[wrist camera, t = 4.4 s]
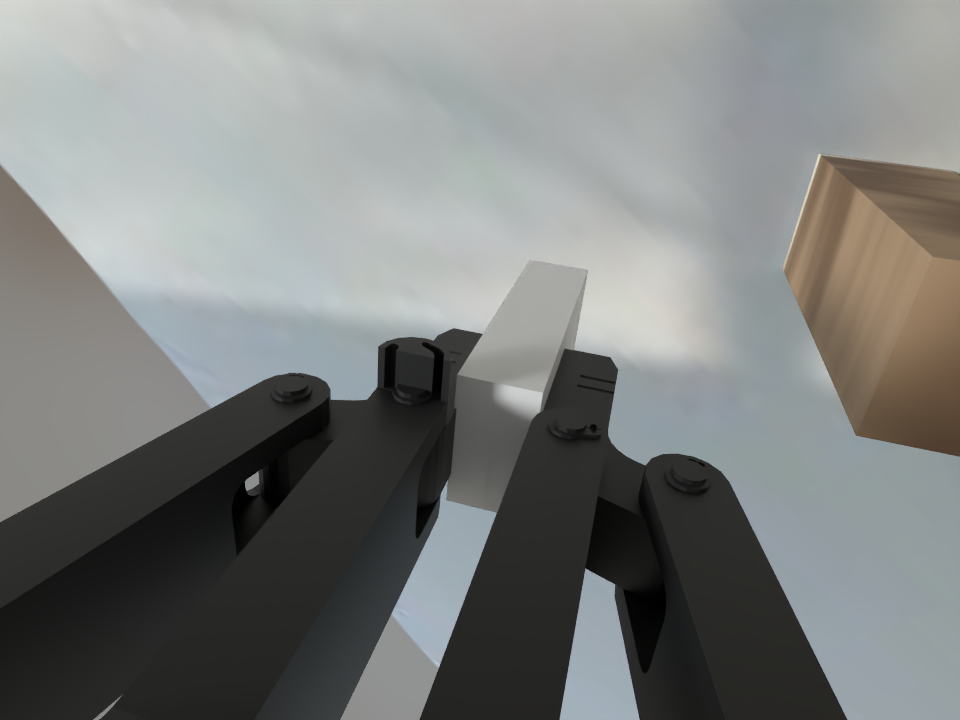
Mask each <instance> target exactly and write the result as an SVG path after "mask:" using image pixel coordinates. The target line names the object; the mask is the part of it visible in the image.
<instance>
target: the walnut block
mask: <svg viewBox="0 0 960 720" xmlns="http://www.w3.org/2000/svg"><path fill="white" fill-rule="evenodd" d="M783 270H784V273H785V275H786V277H787V280H788V282H789V284H790V286H791V289H792V291H793V293H794V296H795V298H796V300H797V302H798V305H799V307H800V309H801V311H802V314H803V316H804V318H805V321H806V323H807V325H808V327H809V330H810V332H811V334H812V336H813V339H814V341H815V343H816V346H817V348H818V350H819V352H820V355H821V357H822V359H823V361H824V364H825V366H826V368H827V371H828V373H829V375H830V377H831V380H832V382H833V384H834V387H835V389H836V391H837V393H838V396H839V398H840V400H841V402H842V405H843V407H844V409H845V412H846V414H847V416H848V418H849V421H850V423H851V425H852V427H853V430H854V432H855V434H856V436H861V437H866V438H871V439H876V440H881V441H885V442H890V443H895V444H900V445H905V446H910V447H915V448H920V449H925V450H930V451H935V452H940V453H945V454H950V455H955V456H960V175H958V174H956V173H955V172H953V171H948V170H941V169H933V168H925V167H918V166H910V165H903V164H895V163H887V162H880V161H872V160H864V159H857V158H849V157H842V156H834V155H826V154H819V155H818V158H817V162H816V165H815V168H814V171H813V174H812V177H811V180H810V183H809V187H808V190H807V193H806V196H805V199H804V202H803V205H802V208H801V212H800V215H799V218H798V221H797V224H796V227H795V230H794V233H793V236H792V240H791V243H790V246H789V249H788V252H787V255H786V258H785V261H784V265H783Z"/></svg>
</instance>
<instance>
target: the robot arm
mask: <svg viewBox="0 0 960 720" xmlns="http://www.w3.org/2000/svg"><path fill="white" fill-rule="evenodd" d="M587 272H588V270H585V269H579V268H573V267H567V266H562V265H556V264H550V263H544V262H539V261H533V260H530V261H529V262H528V264H527V265H526V267H525V268H524V270H523V272H522V273H521V275H520V276H519V278H518V280H517V281H516V283H515V284H514V286H513V287H512V289H511V291H510V292H509V294H508V295H507V297H506V298H505V300H504V302H503V303H502V305H501V306H500V308H499V309H498V311H497V313H496V314H495V316H494V317H493V319H492V321H491V322H490V324H489V325H488V327H487V328H486V330H485V332H484V333H483V334H480V333H475V332H470V331H465V330H459V329H454V328H453V329H451V330H449V331H447V332H445V333H442V334H440V335H438V336H437V337H436V338H435V340H434V341H432V340H429V339H425V338H415V337H407V338H397V339H393V340H390V341H386V342H385V343H383V344H382V345H380V346H379V347H378V387H377V388H376V390H375V391H374V392H373V393H372V395H371V396H370V397H369V398H368V399H367V400H356V401H351V400H331V398H330V388H329V386H328V384H327V383H326V382H325V381H323V380H321V379H320V378H318V377H315V376H311V375H307V374H302V373H298V374H296V373H288V374H284V375H277V376H274V377H271V378H269V379H266V380H263V381H262V382H260V383H258V384H256V385H254V386H252V387H250V388H249V389H247V390H245V391H243V392H241V393H239V394H237V395H236V396H234V397H232V398H230V399H228V400H226V401H224V402H223V403H221V404H219V405H217V406H215V407H213V408H211V409H210V410H208V411H206V412H204V413H202V414H200V415H199V416H197V417H195V418H193V419H191V420H189V421H188V422H186V423H184V424H182V425H180V426H179V427H176V428H174V429H173V430H171V431H169V432H167V433H165V434H163V435H161V436H160V437H158V438H156V439H154V440H152V441H151V442H148V443H147V444H145V445H143V446H141V447H139V448H137V449H135V450H134V451H132V452H130V453H128V454H126V455H125V456H123V457H121V458H119V459H117V460H115V461H113V462H111V463H110V464H108V465H106V466H104V467H102V468H100V469H98V470H97V471H95V472H93V473H91V474H89V475H87V476H85V477H83V478H82V479H80V480H78V481H76V482H74V483H72V484H70V485H69V486H67V487H65V488H63V489H61V490H59V491H57V492H56V493H54V494H52V495H50V496H48V497H47V498H45V499H43V500H41V501H39V502H37V503H35V504H33V505H32V506H30V507H28V508H26V509H24V510H22V511H21V512H19V513H17V514H15V515H13V516H11V517H9V518H7V519H6V520H4V521H2V522H0V720H93V719H94V718H96V717H97V716H98V715H99V714H100V713H101V712H103V711H104V710H105V709H106V708H107V707H108V706H109V705H111V704H112V703H113V702H114V701H115V700H117V699H118V698H119V697H120V696H121V695H122V694H123V695H122V697H120V699H119V700H118V701H117V702H116V704H115V705H114V706H113V707H112V708H111V709H110V710H109V711H108V712H107V713H106V714H105V715H104V716H103V717H102V718H101V719H99V720H340V719H341V717H342V715H343V713H344V711H345V708H346V706H347V704H348V702H349V700H350V698H351V696H352V693H353V692H354V690H355V688H356V686H357V684H358V682H359V680H360V677H361V675H362V673H363V671H364V669H365V667H366V665H367V663H368V661H369V659H370V657H371V655H372V653H373V650H374V649H375V646H376V644H377V642H378V640H379V638H380V636H381V634H382V632H383V630H384V628H385V626H386V624H387V622H388V620H389V617H390V615H391V613H392V611H393V609H394V607H395V605H396V603H397V601H398V599H399V597H400V595H401V593H402V591H403V588H404V586H405V584H406V582H407V580H408V578H409V576H410V574H411V572H412V570H413V568H414V566H415V564H416V562H417V560H418V557H419V555H420V553H421V551H422V549H423V547H424V545H425V543H426V541H427V539H428V537H429V535H430V533H431V531H432V528H433V526H434V524H435V522H436V520H437V518H438V514H439V507H440V495H441V492H442V490H443V488H444V486H445V484H446V482H447V480H448V486H447V498H446V500H448V501H452V502H456V503H460V504H464V505H468V506H472V507H476V508H481V509H485V510H489V511H493V512H497V514H496V517H495V520H494V522H493V525H492V528H491V530H490V533H489V536H488V538H487V541H486V544H485V546H484V549H483V552H482V554H481V557H480V560H479V562H478V565H477V568H476V570H475V573H474V576H473V579H472V581H471V584H470V587H469V589H468V592H467V595H466V597H465V600H464V603H463V605H462V608H461V611H460V613H459V616H458V619H457V621H456V624H455V627H454V629H453V632H452V635H451V637H450V640H449V643H448V645H447V648H446V651H445V653H444V656H443V659H442V661H441V664H440V667H439V669H438V672H437V675H436V677H435V680H434V683H433V685H432V688H431V691H430V693H429V696H428V699H427V701H426V704H425V707H424V709H423V712H422V715H421V717H420V720H559V719H560V713H561V707H562V701H563V695H564V690H565V684H566V678H567V672H568V666H569V660H570V655H571V649H572V643H573V637H574V631H575V625H576V620H577V614H578V608H579V602H580V596H581V591H582V585H583V579H584V573H585V568H586V569H588V570H589V571H591V572H593V573H595V574H597V575H599V576H601V577H603V578H604V579H606V580H608V581H610V582H612V583H614V584H615V600H616V605H617V610H618V615H619V620H620V625H621V630H622V635H623V640H624V645H625V650H626V654H627V659H628V664H629V669H630V674H631V679H632V684H633V689H634V694H635V699H636V704H637V709H638V713H639V718H640V720H847V718H846V716H845V714H844V712H843V710H842V708H841V706H840V704H839V702H838V700H837V698H836V696H835V694H834V692H833V690H832V688H831V686H830V684H829V682H828V680H827V678H826V676H825V674H824V672H823V670H822V668H821V666H820V664H819V662H818V660H817V658H816V656H815V654H814V652H813V650H812V648H811V646H810V644H809V642H808V640H807V638H806V636H805V634H804V632H803V630H802V628H801V626H800V624H799V621H798V619H797V617H796V615H795V613H794V611H793V609H792V607H791V605H790V603H789V601H788V599H787V597H786V595H785V593H784V591H783V589H782V587H781V585H780V583H779V581H778V579H777V577H776V575H775V573H774V571H773V569H772V567H771V565H770V563H769V561H768V559H767V557H766V555H765V553H764V551H763V549H762V547H761V545H760V543H759V541H758V539H757V537H756V535H755V533H754V531H753V529H752V527H751V525H750V523H749V521H748V519H747V517H746V515H745V513H744V511H743V509H742V507H741V505H740V503H739V501H738V499H737V497H736V495H735V493H734V491H733V489H732V487H731V485H730V483H729V481H728V480H727V479H726V477H725V476H724V475H723V474H722V472H721V471H719V470H718V469H716V468H715V467H713V466H712V465H710V464H709V463H707V462H705V461H703V460H701V459H698V458H695V457H692V456H686V455H681V454H662V455H659V456H657V457H654V458H652V459H651V460H650V461H649V462H648V463H647V465H646V466H645V465H643V464H641V463H638V462H636V461H634V460H632V459H630V458H628V457H626V456H625V455H624V454H622V453H621V452H620V451H618V450H617V449H616V448H615V447H614V445H613V444H612V443H611V441H610V439H609V437H608V426H609V420H610V414H611V408H612V402H613V397H614V391H615V385H616V379H617V373H618V369H617V367H616V366H615V364H614V363H613V361H612V359H611V358H610V357H606V356H601V355H596V354H591V353H585V352H580V351H575V350H574V346H575V341H576V335H577V329H578V324H579V318H580V312H581V306H582V301H583V295H584V289H585V284H586V278H587ZM258 471H259V484H258V485H257V486H256V487H254V488H253V489H251V490H248V491H246V489H245V481H246V479H248V478H249V477H251V476H252V475H253V474H255V473H256V472H258Z"/></svg>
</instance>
